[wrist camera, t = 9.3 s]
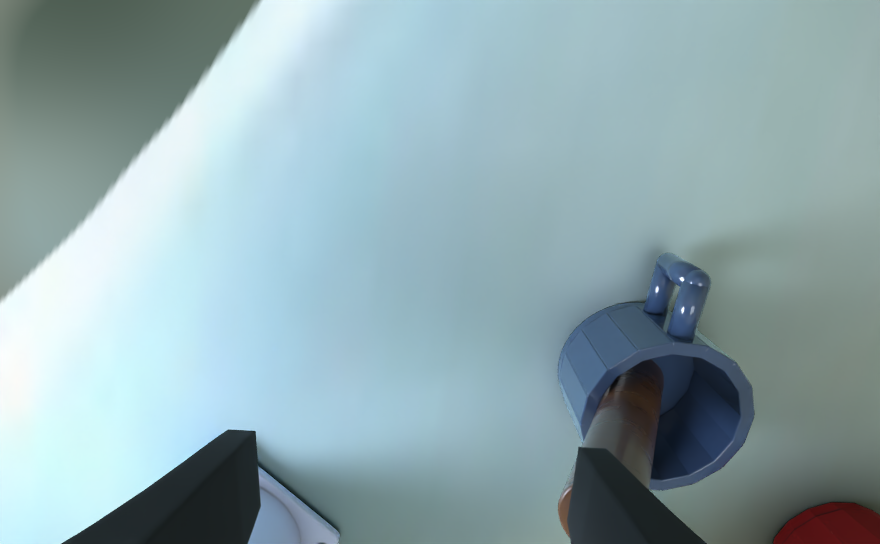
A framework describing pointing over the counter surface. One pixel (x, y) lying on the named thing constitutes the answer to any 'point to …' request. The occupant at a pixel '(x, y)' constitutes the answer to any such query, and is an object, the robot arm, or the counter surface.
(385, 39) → the counter surface
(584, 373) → the coffee cup
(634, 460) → the stirrer
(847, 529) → the plastic cup
